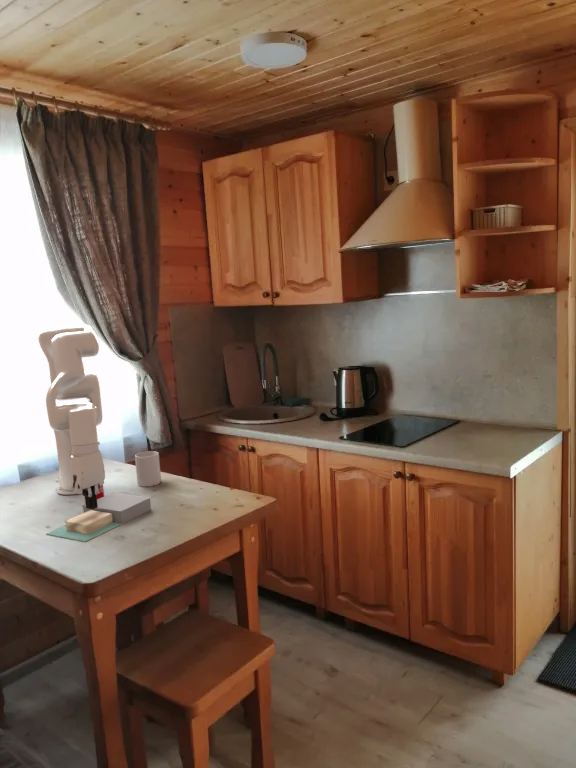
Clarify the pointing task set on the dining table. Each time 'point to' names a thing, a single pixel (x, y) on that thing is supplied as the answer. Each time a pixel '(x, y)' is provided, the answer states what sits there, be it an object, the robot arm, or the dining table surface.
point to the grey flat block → (122, 506)
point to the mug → (148, 468)
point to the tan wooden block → (89, 522)
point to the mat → (80, 536)
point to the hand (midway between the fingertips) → (91, 507)
